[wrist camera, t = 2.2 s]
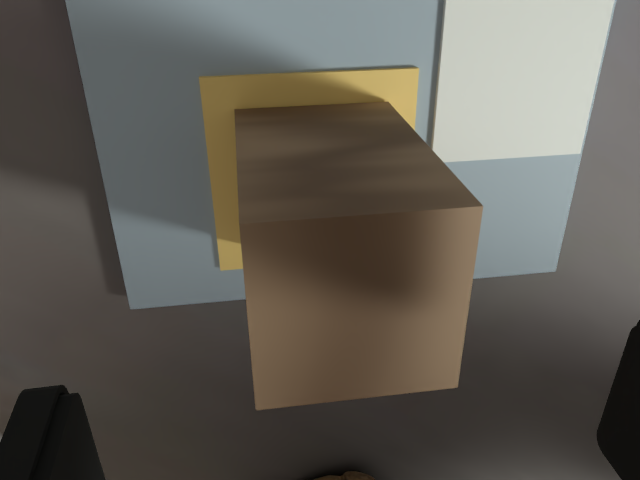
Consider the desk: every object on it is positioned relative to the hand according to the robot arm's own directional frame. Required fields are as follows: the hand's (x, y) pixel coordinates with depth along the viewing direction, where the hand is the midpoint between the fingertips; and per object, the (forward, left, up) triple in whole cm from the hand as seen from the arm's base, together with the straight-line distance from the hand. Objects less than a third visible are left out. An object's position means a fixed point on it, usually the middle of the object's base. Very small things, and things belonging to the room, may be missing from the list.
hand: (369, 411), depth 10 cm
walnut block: (-1, 0, -11) cm, 11 cm away
